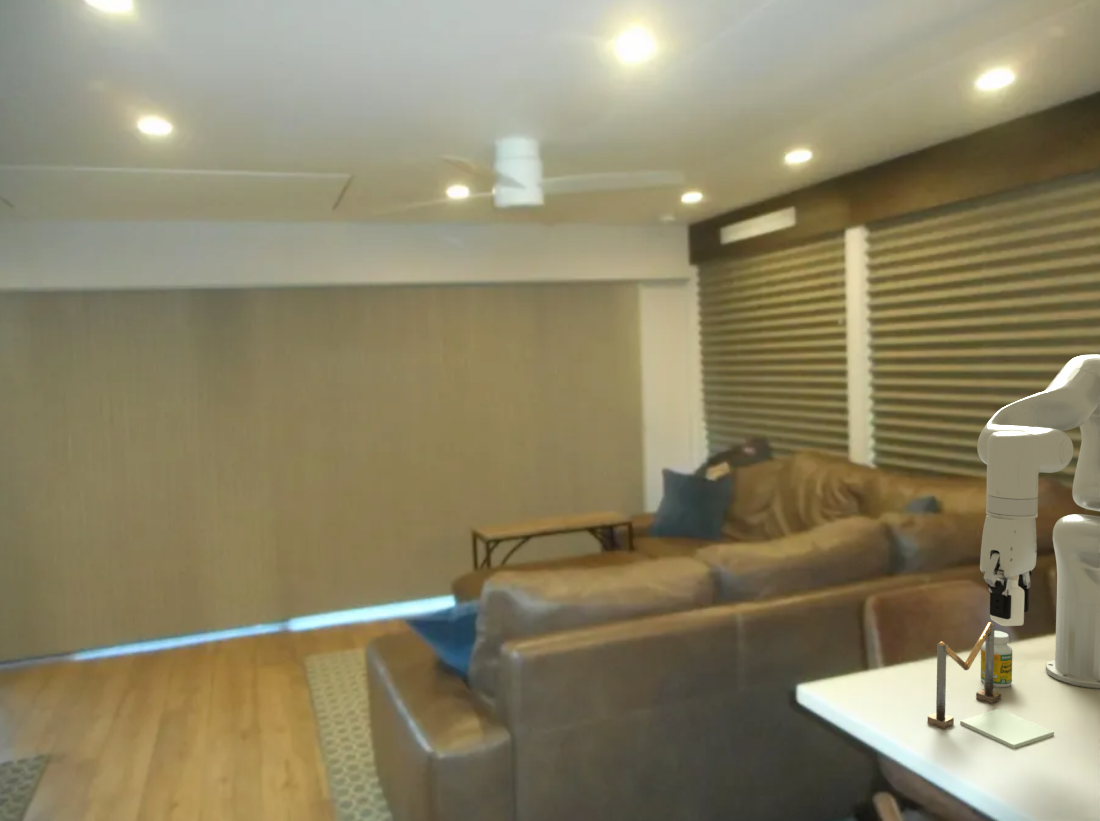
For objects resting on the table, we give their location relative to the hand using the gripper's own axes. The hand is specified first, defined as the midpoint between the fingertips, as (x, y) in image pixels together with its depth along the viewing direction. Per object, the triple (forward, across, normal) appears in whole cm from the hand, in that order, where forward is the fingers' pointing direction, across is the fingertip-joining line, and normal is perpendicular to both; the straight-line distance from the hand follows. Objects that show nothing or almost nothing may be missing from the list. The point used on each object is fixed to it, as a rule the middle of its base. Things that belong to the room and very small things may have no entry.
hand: (1009, 612), depth 142 cm
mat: (+20, 0, 0) cm, 20 cm away
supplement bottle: (+21, -18, -11) cm, 29 cm away
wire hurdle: (+20, -1, -8) cm, 22 cm away
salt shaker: (+2, 0, 0) cm, 2 cm away
